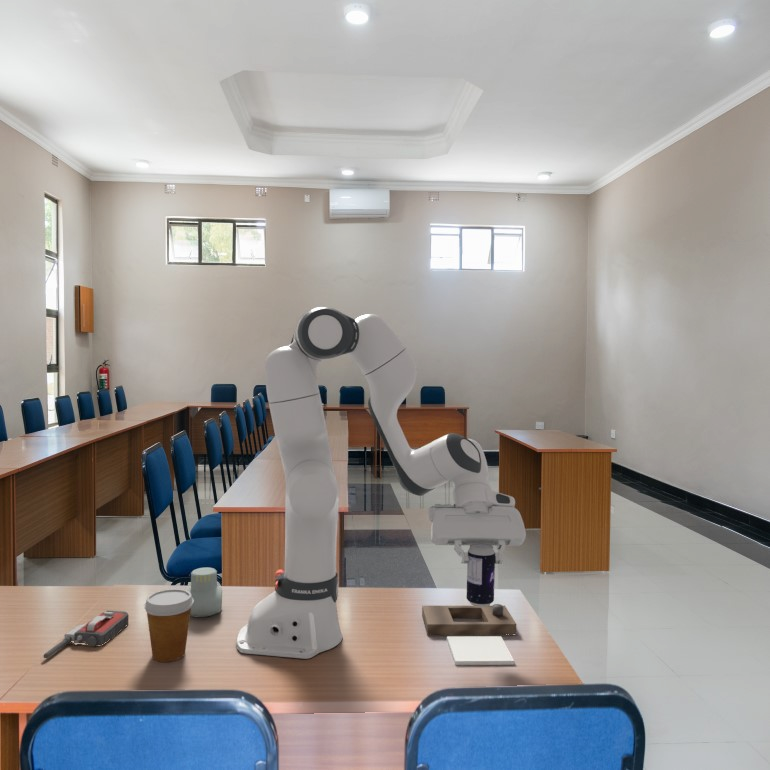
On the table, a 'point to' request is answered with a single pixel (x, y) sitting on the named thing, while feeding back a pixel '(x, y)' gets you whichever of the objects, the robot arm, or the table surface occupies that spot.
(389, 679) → the table surface
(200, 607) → the air freshener
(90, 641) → the walkie-talkie
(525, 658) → the table surface
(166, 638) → the disposable coffee cup
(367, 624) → the table surface
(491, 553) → the beverage can
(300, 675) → the table surface
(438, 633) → the base
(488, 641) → the pad
